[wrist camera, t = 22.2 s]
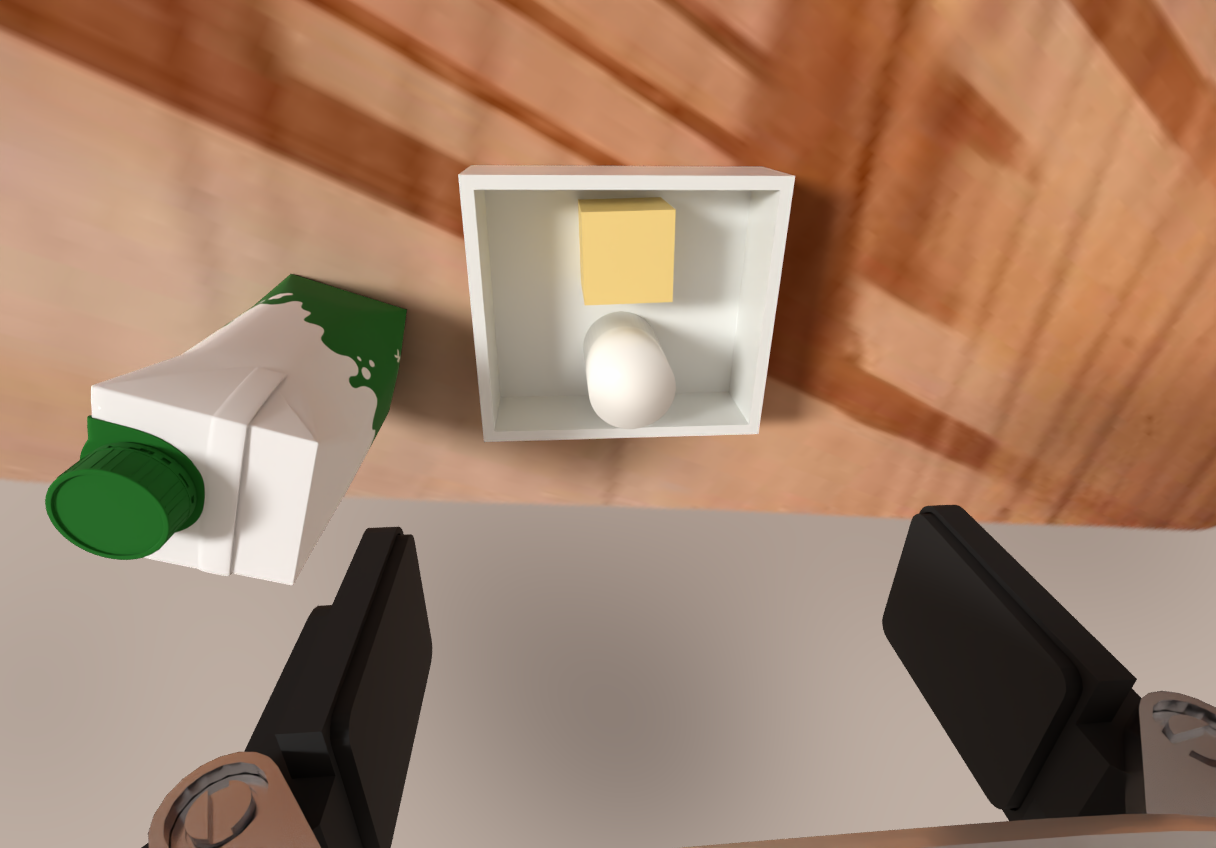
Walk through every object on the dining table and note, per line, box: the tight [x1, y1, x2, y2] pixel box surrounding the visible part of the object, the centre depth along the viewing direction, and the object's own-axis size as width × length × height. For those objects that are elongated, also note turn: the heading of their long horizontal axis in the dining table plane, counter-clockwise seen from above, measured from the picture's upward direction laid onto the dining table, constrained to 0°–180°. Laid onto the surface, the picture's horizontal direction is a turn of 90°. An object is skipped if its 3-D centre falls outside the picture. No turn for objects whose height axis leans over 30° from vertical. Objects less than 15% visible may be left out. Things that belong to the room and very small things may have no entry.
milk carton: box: [45, 274, 407, 585], centre depth 31 cm, size 9×9×20 cm
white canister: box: [583, 311, 676, 429], centre depth 38 cm, size 5×5×7 cm
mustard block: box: [578, 197, 676, 305], centre depth 35 cm, size 5×5×5 cm
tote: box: [458, 165, 795, 442], centre depth 37 cm, size 17×15×6 cm
